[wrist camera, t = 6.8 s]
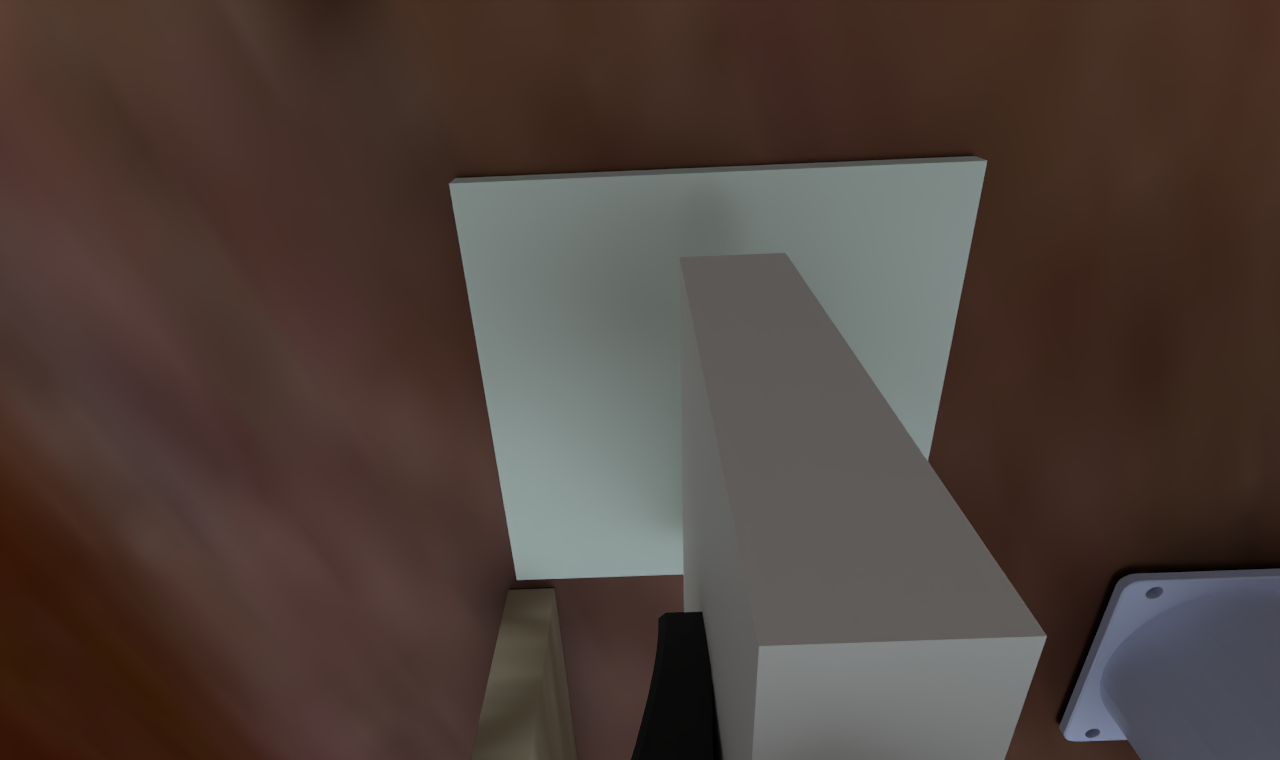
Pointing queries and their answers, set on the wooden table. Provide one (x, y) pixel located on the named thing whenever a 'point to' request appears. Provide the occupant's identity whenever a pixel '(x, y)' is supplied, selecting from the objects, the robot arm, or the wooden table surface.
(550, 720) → the corner fence
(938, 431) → the wooden table surface
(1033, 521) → the wooden table surface
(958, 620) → the gray rectangular slab
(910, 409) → the mat
